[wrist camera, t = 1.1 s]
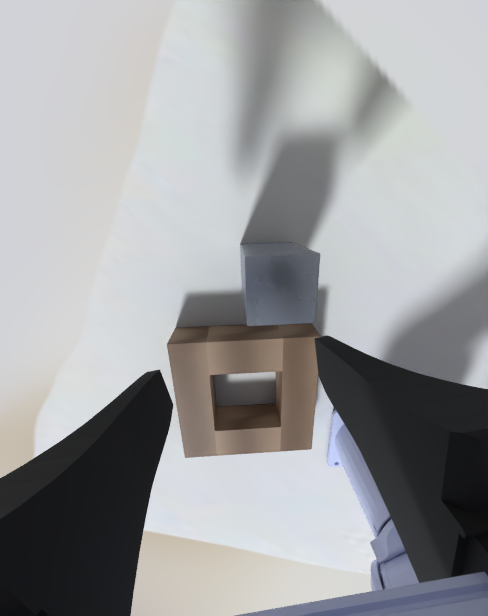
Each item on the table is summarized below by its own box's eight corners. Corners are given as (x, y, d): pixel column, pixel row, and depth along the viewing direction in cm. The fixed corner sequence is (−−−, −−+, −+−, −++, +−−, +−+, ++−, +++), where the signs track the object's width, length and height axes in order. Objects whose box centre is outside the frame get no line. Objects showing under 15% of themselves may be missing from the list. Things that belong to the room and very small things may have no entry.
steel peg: (290, 242, 19) (320, 253, 13) (288, 290, 21) (315, 322, 14) (240, 243, 19) (244, 256, 13) (242, 292, 21) (247, 326, 14)
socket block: (309, 321, 22) (321, 336, 19) (302, 424, 26) (311, 449, 23) (175, 327, 21) (166, 344, 19) (190, 431, 26) (185, 457, 23)
